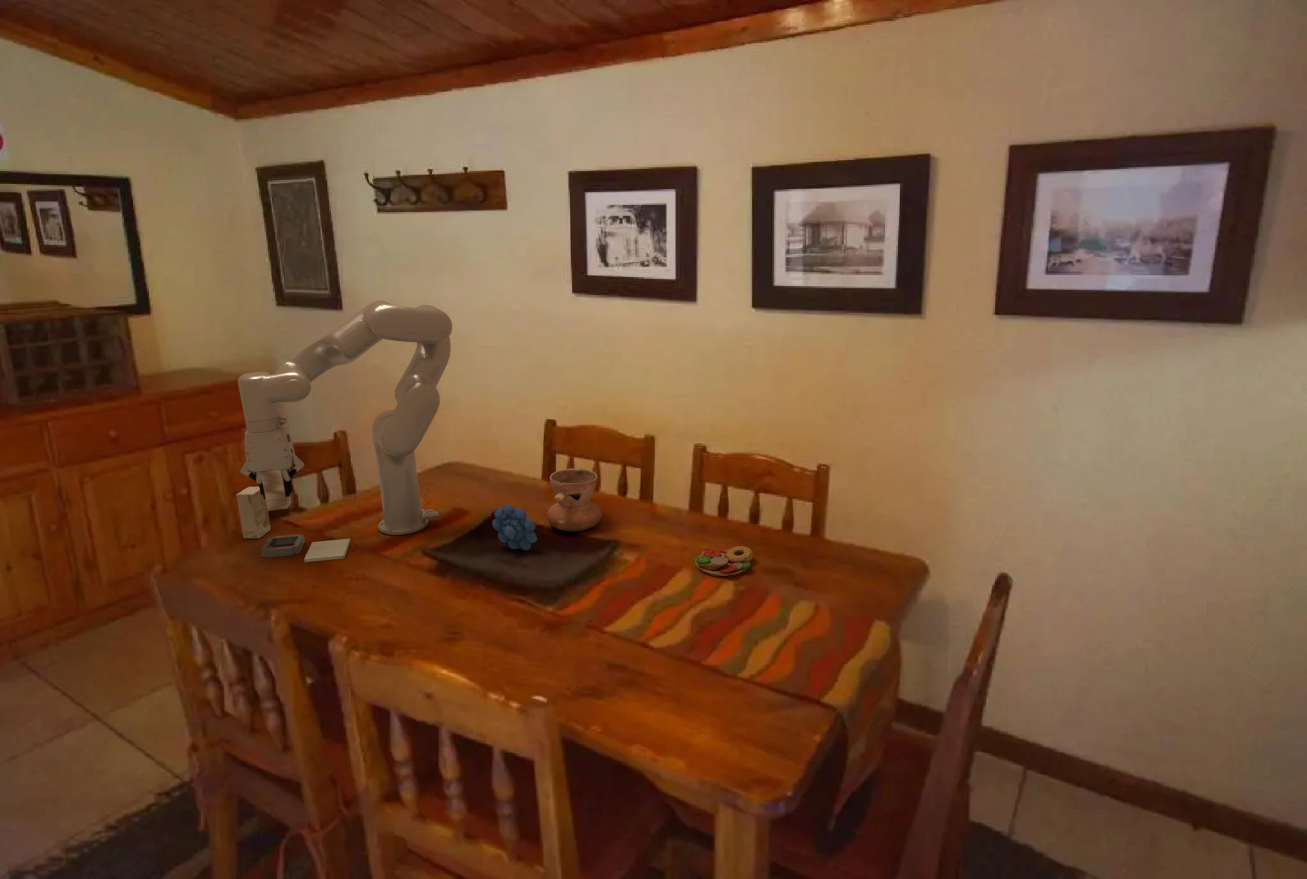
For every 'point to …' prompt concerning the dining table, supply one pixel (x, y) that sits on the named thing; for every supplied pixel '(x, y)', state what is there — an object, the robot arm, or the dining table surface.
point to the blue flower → (514, 527)
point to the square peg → (275, 490)
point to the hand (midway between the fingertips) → (277, 495)
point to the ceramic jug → (573, 500)
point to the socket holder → (283, 551)
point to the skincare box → (253, 513)
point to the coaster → (327, 550)
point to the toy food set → (725, 560)
